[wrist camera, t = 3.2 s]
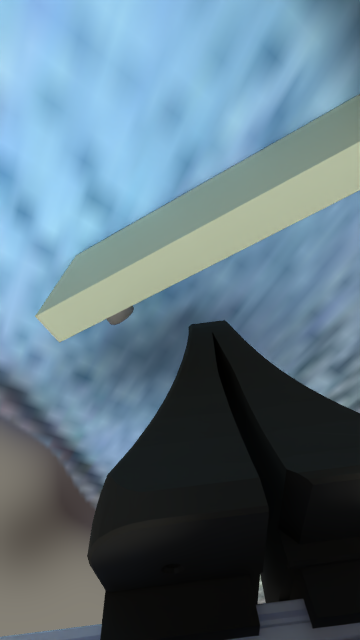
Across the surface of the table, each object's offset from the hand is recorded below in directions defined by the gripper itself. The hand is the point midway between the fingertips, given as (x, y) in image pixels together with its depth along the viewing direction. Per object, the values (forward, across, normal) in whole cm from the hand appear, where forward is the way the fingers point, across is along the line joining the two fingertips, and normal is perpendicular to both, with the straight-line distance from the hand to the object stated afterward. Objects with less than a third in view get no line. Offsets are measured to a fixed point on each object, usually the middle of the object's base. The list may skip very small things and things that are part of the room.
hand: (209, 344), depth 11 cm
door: (+3, -2, -4) cm, 6 cm away
